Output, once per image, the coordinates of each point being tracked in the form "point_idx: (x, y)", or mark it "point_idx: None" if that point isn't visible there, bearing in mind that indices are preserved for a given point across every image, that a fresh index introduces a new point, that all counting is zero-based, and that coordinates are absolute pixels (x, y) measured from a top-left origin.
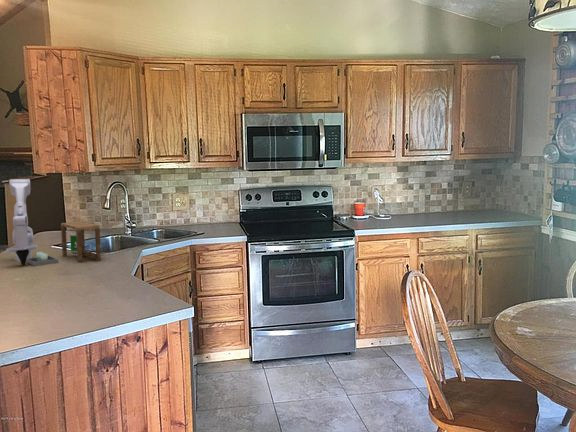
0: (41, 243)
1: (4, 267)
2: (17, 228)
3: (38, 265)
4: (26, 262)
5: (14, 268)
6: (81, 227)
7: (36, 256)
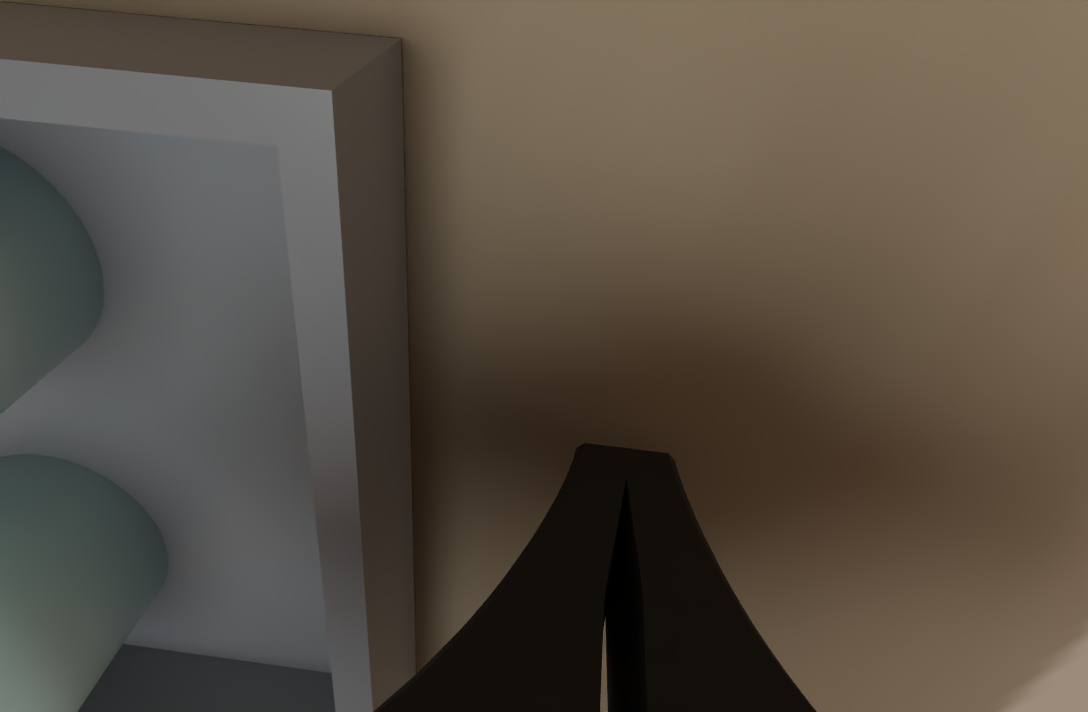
0: None
1: (1014, 701)
2: None
3: (215, 32)
4: None
5: (950, 418)
6: None
7: (57, 709)
